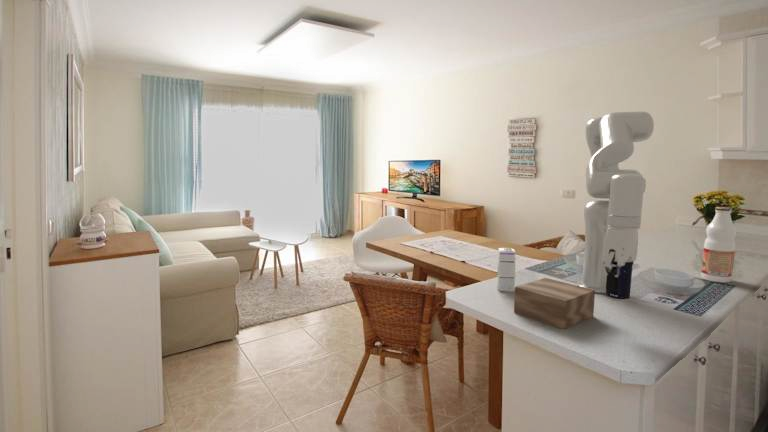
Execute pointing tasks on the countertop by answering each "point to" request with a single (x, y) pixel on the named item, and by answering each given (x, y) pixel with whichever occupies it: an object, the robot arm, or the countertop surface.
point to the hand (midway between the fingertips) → (618, 287)
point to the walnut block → (554, 302)
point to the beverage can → (622, 282)
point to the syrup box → (506, 269)
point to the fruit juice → (719, 247)
